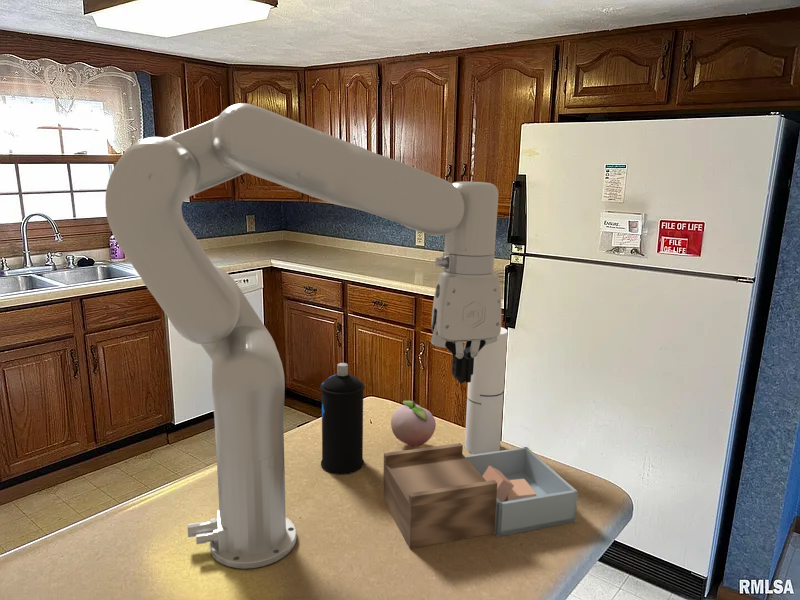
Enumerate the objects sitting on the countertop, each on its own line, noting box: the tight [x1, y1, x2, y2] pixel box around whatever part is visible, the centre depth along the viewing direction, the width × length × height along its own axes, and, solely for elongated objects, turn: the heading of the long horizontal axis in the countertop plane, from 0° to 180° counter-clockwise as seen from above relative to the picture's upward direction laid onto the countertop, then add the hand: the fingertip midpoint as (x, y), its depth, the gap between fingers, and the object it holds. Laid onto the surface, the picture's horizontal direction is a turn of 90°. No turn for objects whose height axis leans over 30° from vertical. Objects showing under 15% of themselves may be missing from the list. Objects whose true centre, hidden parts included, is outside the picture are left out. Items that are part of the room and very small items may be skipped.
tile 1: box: [482, 465, 514, 502], centre depth 98 cm, size 5×5×2 cm
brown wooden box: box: [382, 442, 497, 550], centre depth 95 cm, size 14×14×9 cm
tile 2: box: [504, 479, 536, 502], centre depth 99 cm, size 5×5×2 cm
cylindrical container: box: [464, 326, 508, 455], centre depth 118 cm, size 7×7×25 cm
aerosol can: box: [319, 362, 366, 475], centre depth 110 cm, size 8×8×20 cm
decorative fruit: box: [390, 400, 437, 448], centre depth 119 cm, size 9×8×10 cm
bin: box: [464, 446, 579, 538], centre depth 100 cm, size 14×16×6 cm
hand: (462, 379), depth 93 cm, fingers closed
